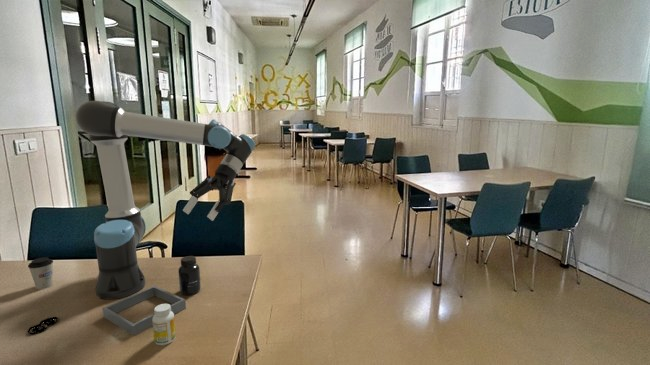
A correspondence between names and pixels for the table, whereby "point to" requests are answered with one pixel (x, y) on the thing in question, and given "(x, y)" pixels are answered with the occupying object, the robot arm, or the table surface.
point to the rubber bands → (51, 322)
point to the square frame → (145, 323)
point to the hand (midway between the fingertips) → (197, 215)
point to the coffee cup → (41, 272)
